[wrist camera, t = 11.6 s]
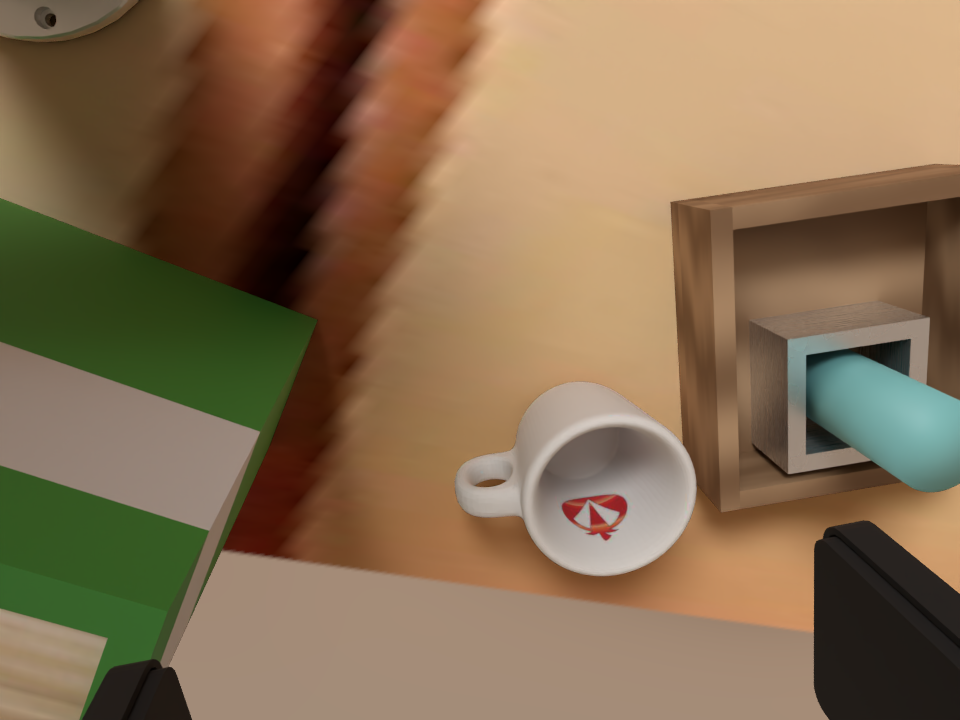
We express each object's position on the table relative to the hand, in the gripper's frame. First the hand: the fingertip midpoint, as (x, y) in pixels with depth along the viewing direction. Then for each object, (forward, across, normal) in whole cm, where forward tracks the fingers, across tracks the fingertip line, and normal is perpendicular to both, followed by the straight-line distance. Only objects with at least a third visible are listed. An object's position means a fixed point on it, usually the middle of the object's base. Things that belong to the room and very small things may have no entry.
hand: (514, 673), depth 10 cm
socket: (+27, -20, +8) cm, 34 cm away
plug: (+26, -20, +8) cm, 34 cm away
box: (+27, -20, +5) cm, 34 cm away
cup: (+28, -5, +9) cm, 30 cm away
